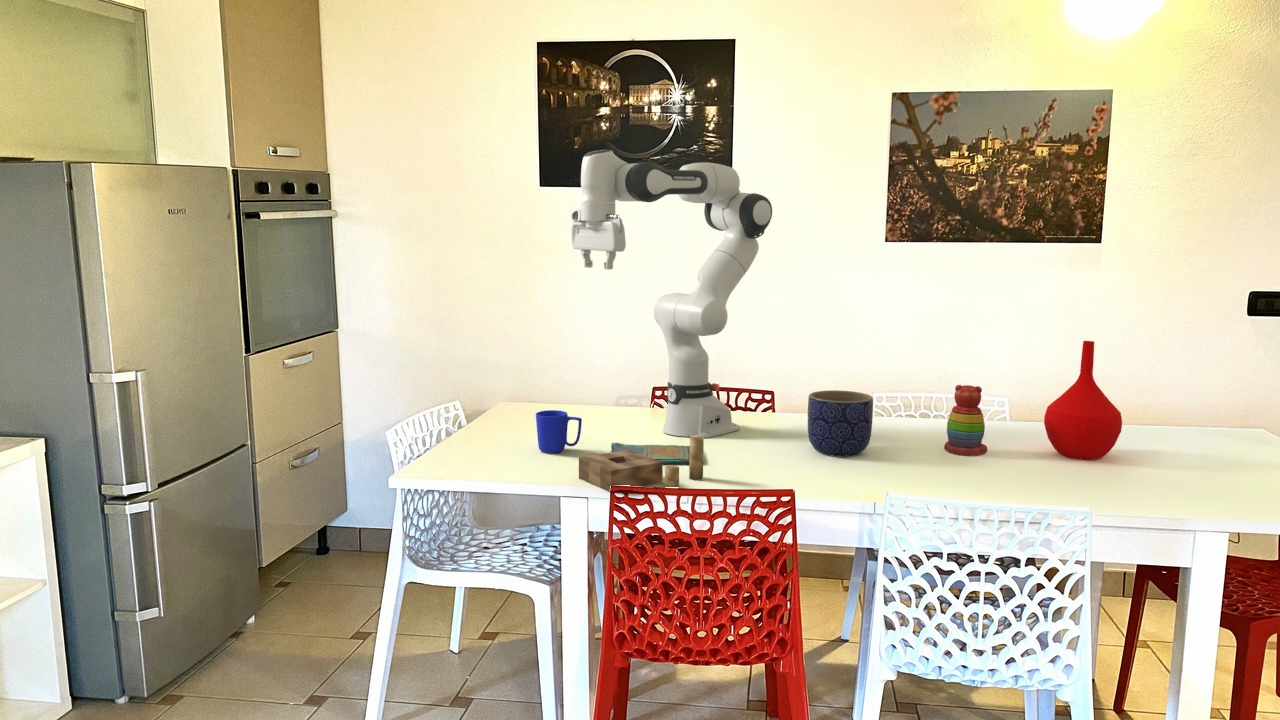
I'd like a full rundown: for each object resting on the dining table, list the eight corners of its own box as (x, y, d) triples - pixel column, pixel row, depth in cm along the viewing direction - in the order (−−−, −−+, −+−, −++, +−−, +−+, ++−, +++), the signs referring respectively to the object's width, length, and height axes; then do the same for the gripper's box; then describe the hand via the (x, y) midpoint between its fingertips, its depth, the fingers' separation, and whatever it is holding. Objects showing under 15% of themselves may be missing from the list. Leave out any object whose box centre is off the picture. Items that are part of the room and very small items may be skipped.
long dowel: (697, 475, 230) (698, 434, 229) (705, 478, 227) (706, 437, 226) (686, 477, 228) (687, 436, 227) (694, 480, 226) (695, 438, 224)
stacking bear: (988, 449, 258) (992, 383, 255) (984, 458, 248) (988, 389, 246) (945, 445, 262) (949, 380, 259) (940, 453, 253) (944, 386, 250)
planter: (882, 451, 255) (885, 395, 252) (849, 463, 243) (851, 404, 240) (828, 441, 266) (830, 387, 263) (794, 452, 254) (795, 395, 252)
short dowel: (673, 486, 221) (673, 464, 220) (681, 489, 219) (682, 468, 218) (661, 488, 219) (662, 466, 219) (670, 491, 217) (670, 470, 216)
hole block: (628, 469, 235) (628, 449, 234) (662, 483, 224) (662, 461, 223) (578, 478, 227) (578, 457, 226) (611, 492, 216) (611, 470, 215)
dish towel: (610, 450, 256) (610, 441, 256) (699, 450, 257) (699, 441, 256) (609, 467, 239) (609, 457, 239) (704, 467, 240) (704, 457, 239)
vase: (1043, 460, 247) (1051, 344, 242) (1040, 444, 264) (1048, 335, 259) (1123, 467, 240) (1133, 348, 236) (1115, 450, 257) (1124, 339, 253)
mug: (577, 456, 247) (577, 418, 246) (531, 453, 250) (531, 415, 248) (585, 448, 255) (585, 411, 254) (541, 446, 258) (541, 409, 256)
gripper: (631, 214, 242) (631, 270, 245) (587, 214, 259) (587, 266, 261) (610, 214, 239) (610, 270, 241) (567, 213, 255) (567, 266, 257)
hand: (598, 268), depth 251 cm, fingers open, 8 cm apart
